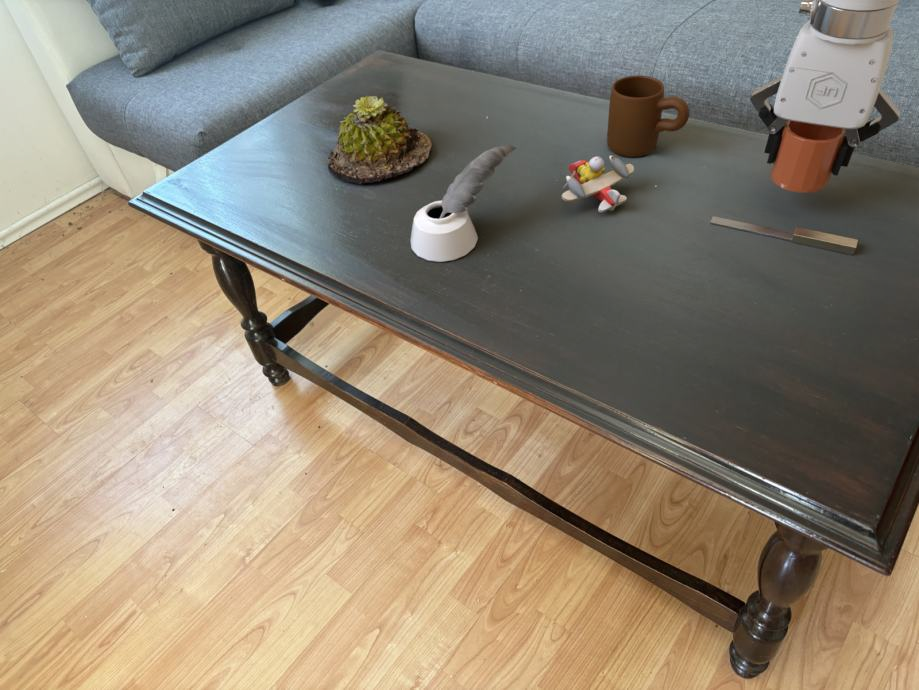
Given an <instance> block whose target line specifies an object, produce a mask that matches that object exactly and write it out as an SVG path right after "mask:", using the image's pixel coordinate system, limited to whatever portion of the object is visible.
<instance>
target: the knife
mask: <svg viewBox="0 0 919 690" xmlns="http://www.w3.org/2000/svg"><path fill="white" fill-rule="evenodd" d="M710 219H711V220H710V221H709V224H710V225H714V226H719V227H723V228H728V229H732V230H738V231H741V232H745V233H746V232H747V233H751V234H755V235H760V236H765V237H770V238H774V239H779V240H783V241H788V242H791V243H795V244H799V245H803V246H804V245H805V246H808V247H813V248H817V249H822V250H827V251H831V252H835V253H839V254H845V255H850V256H854V254H855V252H856V250H857V247H858V243H859V239H856V238H852V237H847V236H843V235H837V234H834V233H827V232H822V231H818V230H814V229H808V228H804V227H798V226H796V227H795V229H794V232H790V231H785V230H780V229H776V228H770V227H766V226H762V225H758V224H753V223H747V222H743V221H737V220H733V219H729V218H723V217H719V216H715V215H713V216H712V218H710Z"/></svg>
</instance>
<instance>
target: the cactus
mask: <svg viewBox="0 0 919 690" xmlns="http://www.w3.org/2000/svg"><path fill="white" fill-rule="evenodd" d="M352 107H353V108H355V109H353V110H352V111H353V112H352V113H351V112H350V113H349V114H348V115H347V116H346V117H345V116H343V118H344V120H340V126H339V129H338V131H339V132H338V135H337V136H338V139H337V142H336V146H335V148H334V149H332V150H331V151H330V152H329V156H328V157H327V167H328V171H329V173H330V174H331V175H333V176H334V177H335V178H336V179H338V180H340V181H342V182H347V183H355V184H356V185H357V184H358V185H362V184H367V183H368V184H369V183H370V184H371V183H375V182H380V181H382V180H383V181H384V180H387V179H388V178H389V179H391V178H396V177H397V176H400V175H403V174H404V173H405V174H407V173H408V172H410V171H412V170H413V169H414V168H416V167H419V166H421V165H422V164H423V163H425V162H426V160H427V159H428V158H429V155H430V152H431V149H432V145H433V144H432V141H431V139H430V137H429V136H428V134H426V133H424V132H422V131H420V130H419V129H417V128H415V127H414V128H411V127H409V125H410V123H408V122H407V119H406V117H403V115H401V111H397V109H395V107H393V108H392V105H390V106H389V105H388V102H385V101H384V98H383V97H382V96H381V97H380V98H378V96H376V95H372V96H371V95H365V97H364V96H361V97H360V99H356V100H355V104H353V105H352Z"/></svg>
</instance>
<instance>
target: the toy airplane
mask: <svg viewBox="0 0 919 690" xmlns="http://www.w3.org/2000/svg"><path fill="white" fill-rule="evenodd" d="M609 160H610V166H611V168H612V169H613V170H610V171H608V172H606V167H605V161H604V158H602V157H600V156H593V157H592V158H590V160H589V161H587V160H584V159H581V160H577V161H576V162H573V163H571V164H570V165H569V166H568V171H569V173H570V174H571V175H566V176H565V179H566V183H565V185H564V186H563V187H562V190H564V189H565V188H566V187H568V190H566V191H564V192H563V193H561V197H560V198H561V200H562V201H564V202H565V203H572V202H576V201H579V200H582V199H583V200H584V199H585V198H588V197H590V196H592V197H594V198H595V199H597V200H598V201H600V203H599V205H598V209H597V210H598V212H599V213H601V214H603V213H605V212H608V211H610V212H613V211H614V210H615V208H616V207H617V206H620V205H622V204H623V203H625V202H626V201H627V196H626V195H624V194H621V193H620V192H619V191H618V190H616V189H612V187H613V186H615V185H616V184H618V183H620V182H622V181H623V180H624V179H629V177H630V176H632V174H634V171H635V167H634V165H633V164H632V163H626V164H625V163H624V162H623V161H622V160H621V159H620V158H618V157H615V155H609ZM605 172H606V173H605Z"/></svg>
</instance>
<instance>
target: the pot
mask: <svg viewBox="0 0 919 690" xmlns="http://www.w3.org/2000/svg"><path fill="white" fill-rule="evenodd" d="M845 136H846V132H845V129H843V128H835V127H828V126H822V125H815V124H808V123H802V122H796V121H790V120H788V121H787V122H786V123H785V124H784V128H783V131H782V135H781V139H780V142H779V146H778V149H777V152H776V156H775V159H774V162H773V163H772V167H771V169H770V179H771V181H772V182H773V183H774V185H776V186H778V187H780V188H781V189H784V190H786V191H789V192H793V193H802V194H804V193H805V194H806V193H807V194H808V193H816V192H818V191H821V190H823V189H825V187H826V186H827V185H828V184H829V181H830V180H831V176H832V170H833V168H834V165H835V162H836V159H837V157H838V154H839V151H840V148H841V146H842V143H843V141H844V138H845Z"/></svg>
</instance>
